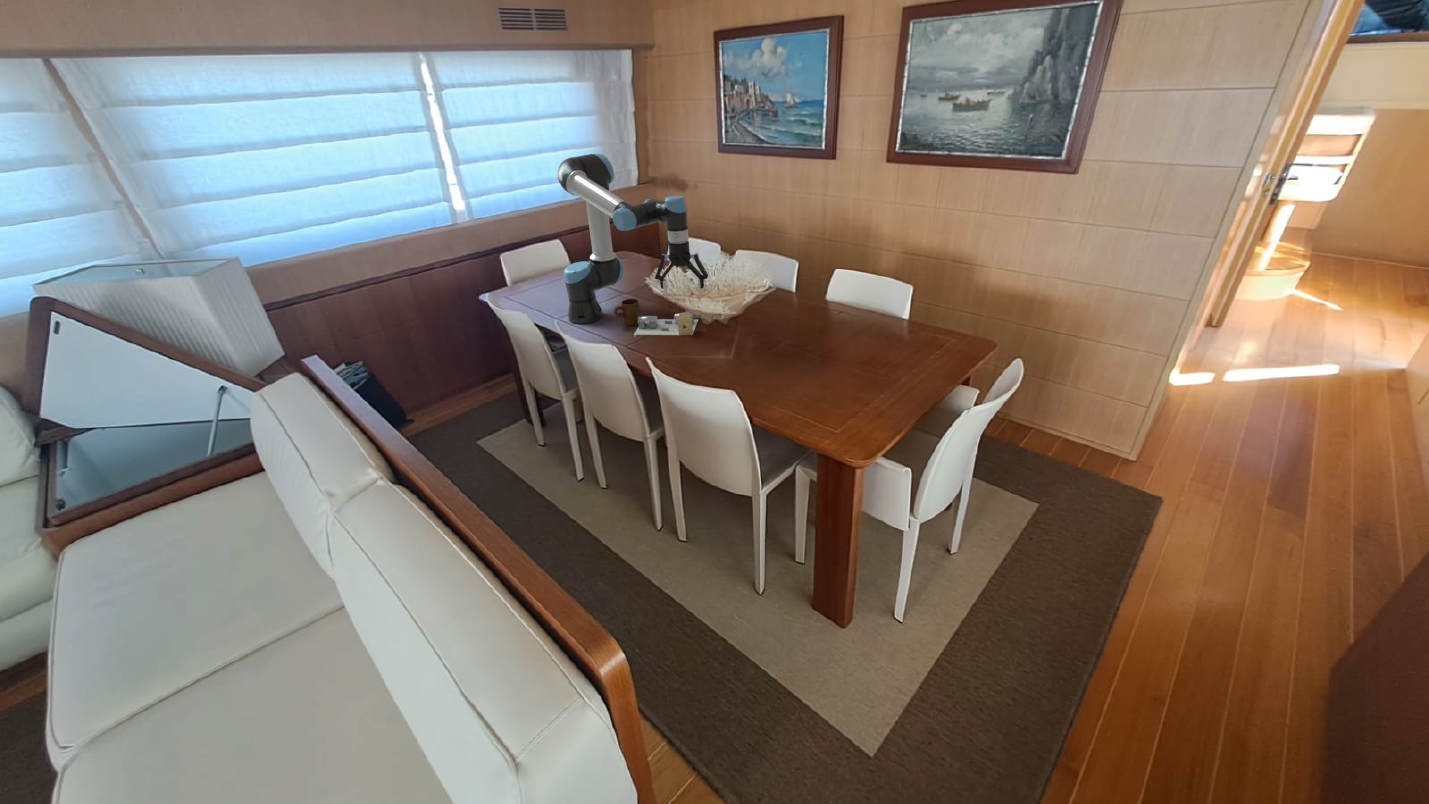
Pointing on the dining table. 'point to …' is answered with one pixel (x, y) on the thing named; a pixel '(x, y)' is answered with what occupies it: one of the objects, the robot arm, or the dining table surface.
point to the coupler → (685, 324)
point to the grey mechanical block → (647, 322)
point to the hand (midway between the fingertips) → (683, 296)
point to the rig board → (663, 328)
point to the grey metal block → (683, 313)
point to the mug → (629, 311)
